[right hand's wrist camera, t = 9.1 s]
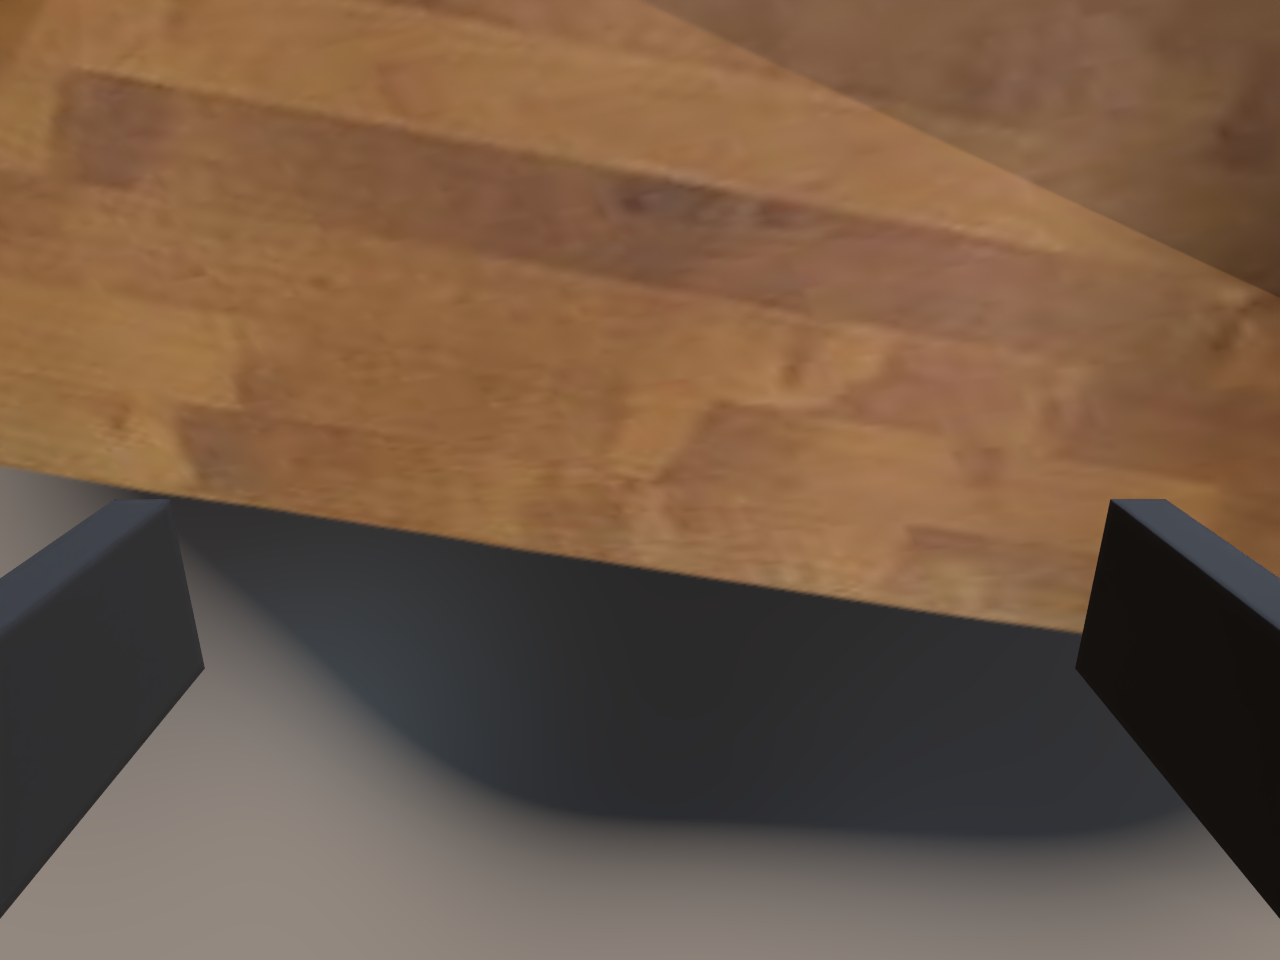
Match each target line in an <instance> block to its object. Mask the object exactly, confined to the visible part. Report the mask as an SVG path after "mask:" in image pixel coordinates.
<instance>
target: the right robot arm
mask: <svg viewBox="0 0 1280 960" xmlns="http://www.w3.org/2000/svg"><path fill="white" fill-rule="evenodd" d="M204 668H205V667H204V663H203V658H202V653H201V648H200V643H199V639H198V634H197V629H196V624H195V620H194V615H193V610H192V605H191V600H190V595H189V591H188V586H187V581H186V576H185V571H184V567H183V562H182V557H181V552H180V547H179V543H178V538H177V533H176V528H175V523H174V519H173V514H172V509H171V504H170V500H169V499H115V500H113V501H112V502H110V503H109V504H107V505H106V506H104V507H103V508H101V509H100V510H98V511H97V512H96V513H94V514H93V515H91V516H90V517H88V518H87V519H85V520H84V521H83V522H81V523H80V524H78V525H77V526H75V527H74V528H73V529H71V530H70V531H68V532H67V533H65V534H64V535H62V536H61V537H60V538H58V539H57V540H55V541H54V542H52V543H51V544H49V545H48V546H47V547H45V548H44V549H42V550H41V551H39V552H38V553H36V554H35V555H34V556H32V557H31V558H29V559H28V560H26V561H25V562H23V563H22V564H20V565H19V566H18V567H16V568H15V569H13V570H12V571H10V572H9V573H7V574H6V575H5V576H3V577H2V578H0V918H1V917H2V916H3V915H4V913H5V912H6V911H7V910H8V908H9V907H10V906H11V905H12V904H13V902H14V901H15V900H16V899H17V897H18V896H19V895H20V894H21V893H22V891H23V890H24V889H25V888H26V886H27V885H28V884H29V883H30V882H31V880H32V879H33V878H34V877H35V875H36V874H37V873H38V872H39V870H40V869H41V868H42V867H43V866H44V864H45V863H46V862H47V861H48V859H49V858H50V857H51V856H52V855H53V853H54V852H55V851H56V850H57V848H58V847H59V846H60V845H61V844H62V842H63V841H64V840H65V839H66V837H67V836H68V835H69V834H70V833H71V831H72V830H73V829H74V828H75V826H76V825H77V824H78V823H79V821H80V820H81V819H82V818H83V817H84V815H85V814H86V813H87V812H88V810H89V809H90V808H91V807H92V806H93V804H94V803H95V802H96V801H97V799H98V798H99V797H100V796H101V795H102V793H103V792H104V791H105V790H106V789H107V787H108V786H109V785H110V784H111V782H112V781H113V780H114V779H115V777H116V776H117V775H118V774H119V773H120V771H121V770H122V769H123V768H124V766H125V765H126V764H127V763H128V762H129V760H130V759H131V758H132V757H133V755H134V754H135V753H136V752H137V751H138V749H139V748H140V747H141V746H142V744H143V743H144V742H145V741H146V740H147V738H148V737H149V736H150V735H151V733H152V732H153V731H154V730H155V728H156V727H157V726H158V725H159V724H160V722H161V721H162V720H163V719H164V718H165V716H166V715H167V714H168V713H169V711H170V710H171V709H172V708H173V706H174V705H175V704H176V703H177V702H178V700H179V699H180V698H181V697H182V696H183V694H184V693H185V692H186V691H187V689H188V688H189V687H190V686H191V684H192V683H193V682H194V681H195V680H196V678H197V677H198V676H199V675H200V673H201V672H202V671H203V670H204ZM1075 668H1076V670H1077V671H1078V672H1079V673H1080V675H1081V676H1082V677H1083V678H1084V679H1085V681H1086V682H1087V683H1088V684H1089V686H1090V687H1091V688H1092V689H1093V691H1094V692H1095V693H1096V694H1097V695H1098V697H1099V698H1100V699H1101V700H1102V702H1103V703H1104V704H1105V705H1106V707H1107V708H1108V709H1109V710H1110V711H1111V713H1112V714H1113V715H1114V716H1115V717H1116V719H1117V720H1118V721H1119V722H1120V724H1121V725H1122V726H1123V727H1124V729H1125V730H1126V731H1127V732H1128V733H1129V735H1130V736H1131V737H1132V738H1133V740H1134V741H1135V742H1136V743H1137V744H1138V746H1139V747H1140V748H1141V749H1142V751H1143V752H1144V753H1145V754H1146V755H1147V757H1148V758H1149V759H1150V760H1151V762H1152V763H1153V764H1154V765H1155V766H1156V768H1157V769H1158V770H1159V771H1160V773H1161V774H1162V775H1163V776H1164V777H1165V779H1166V780H1167V781H1168V782H1169V784H1170V785H1171V786H1172V787H1173V789H1174V790H1175V791H1176V792H1177V793H1178V795H1179V796H1180V797H1181V798H1182V800H1183V801H1184V802H1185V803H1186V804H1187V806H1188V807H1189V808H1190V809H1191V810H1192V812H1193V813H1194V814H1195V815H1196V817H1197V818H1198V819H1199V820H1200V822H1201V823H1202V824H1203V825H1204V826H1205V828H1206V829H1207V830H1208V831H1209V833H1210V834H1211V835H1212V836H1213V837H1214V839H1215V840H1216V841H1217V842H1218V844H1219V845H1220V846H1221V847H1222V848H1223V850H1224V851H1225V852H1226V853H1227V855H1228V856H1229V857H1230V858H1231V859H1232V861H1233V862H1234V863H1235V864H1236V866H1237V867H1238V868H1239V869H1240V870H1241V872H1242V873H1243V874H1244V875H1245V877H1246V878H1247V879H1248V880H1249V882H1250V883H1251V884H1252V885H1253V886H1254V888H1255V889H1256V890H1257V891H1258V892H1259V894H1260V895H1261V896H1262V897H1263V899H1264V900H1265V901H1266V902H1267V904H1268V905H1269V906H1270V907H1271V908H1272V910H1273V911H1274V912H1275V913H1276V915H1277V916H1278V917H1279V918H1280V578H1278V577H1277V576H1275V575H1274V574H1273V573H1271V572H1270V571H1268V570H1267V569H1265V568H1264V567H1262V566H1261V565H1260V564H1258V563H1257V562H1255V561H1254V560H1252V559H1251V558H1249V557H1248V556H1247V555H1245V554H1244V553H1242V552H1241V551H1239V550H1238V549H1236V548H1235V547H1234V546H1232V545H1231V544H1229V543H1228V542H1226V541H1225V540H1223V539H1222V538H1221V537H1219V536H1218V535H1216V534H1215V533H1213V532H1212V531H1210V530H1209V529H1208V528H1206V527H1205V526H1203V525H1202V524H1200V523H1199V522H1197V521H1196V520H1195V519H1193V518H1192V517H1190V516H1189V515H1187V514H1186V513H1184V512H1183V511H1182V510H1180V509H1179V508H1177V507H1176V506H1174V505H1173V504H1171V503H1170V502H1169V501H1167V500H1166V499H1110V504H1109V509H1108V514H1107V518H1106V523H1105V528H1104V533H1103V538H1102V542H1101V547H1100V552H1099V557H1098V562H1097V567H1096V571H1095V576H1094V581H1093V586H1092V591H1091V595H1090V600H1089V605H1088V610H1087V615H1086V619H1085V624H1084V629H1083V634H1082V639H1081V643H1080V648H1079V653H1078V658H1077V663H1076V667H1075Z"/></svg>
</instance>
